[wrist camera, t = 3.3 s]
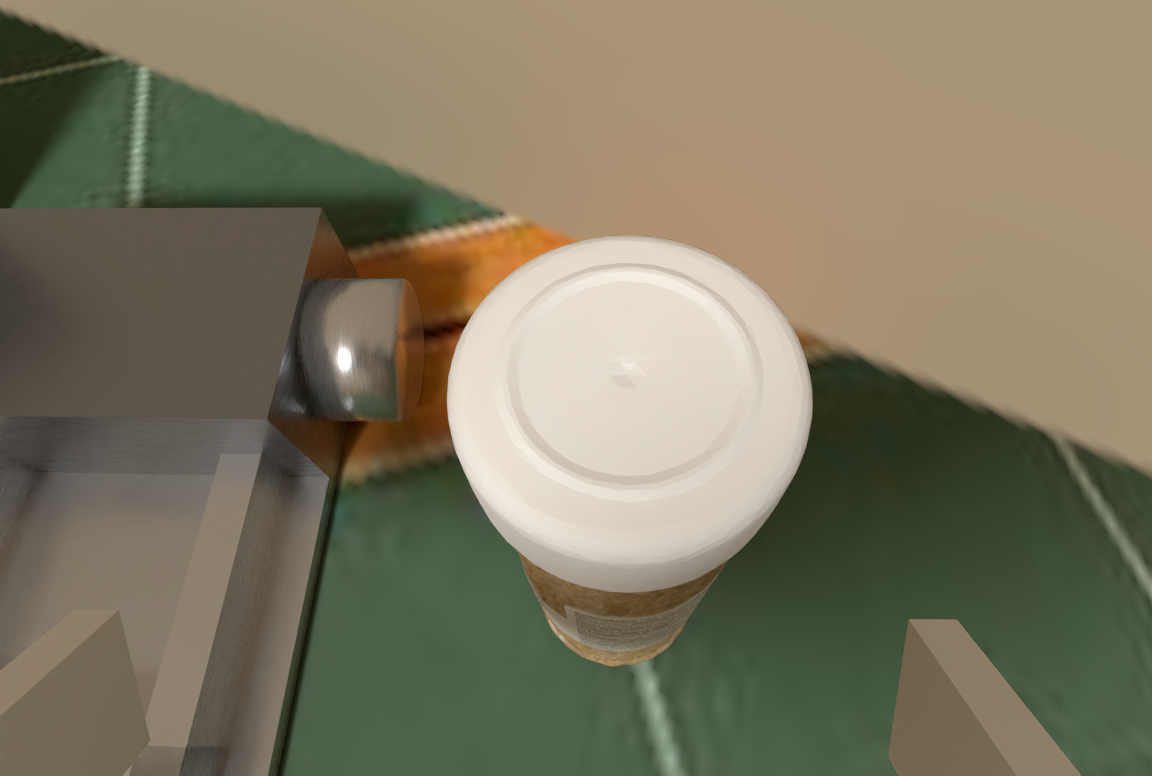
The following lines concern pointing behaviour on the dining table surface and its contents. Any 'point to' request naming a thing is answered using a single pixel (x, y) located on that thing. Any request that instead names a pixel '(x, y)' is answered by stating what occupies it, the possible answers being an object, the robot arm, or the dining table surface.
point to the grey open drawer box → (186, 448)
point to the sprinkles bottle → (627, 430)
